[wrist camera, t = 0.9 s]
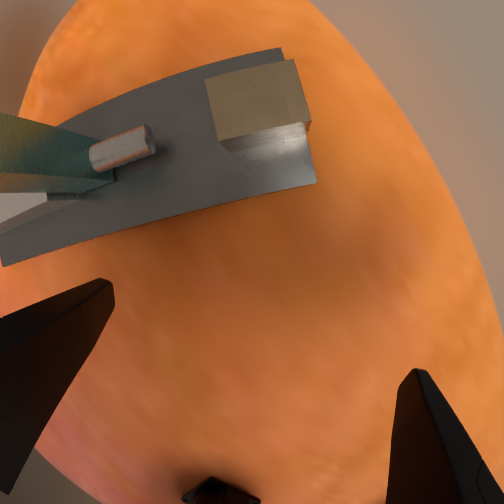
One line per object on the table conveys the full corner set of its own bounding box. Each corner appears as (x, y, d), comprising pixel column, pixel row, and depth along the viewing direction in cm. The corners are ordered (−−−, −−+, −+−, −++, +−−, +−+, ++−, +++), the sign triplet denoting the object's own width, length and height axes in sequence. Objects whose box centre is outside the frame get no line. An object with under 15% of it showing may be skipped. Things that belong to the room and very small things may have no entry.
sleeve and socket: (9, 265, 24) (-27, 275, 19) (-6, 169, 23) (-42, 168, 18) (315, 183, 21) (325, 177, 16) (280, 53, 20) (279, 17, 15)
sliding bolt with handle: (1, 228, 23) (-98, 245, 11) (-4, 198, 22) (-101, 204, 11) (164, 164, 20) (49, 133, 9) (156, 124, 20) (47, 64, 8)
